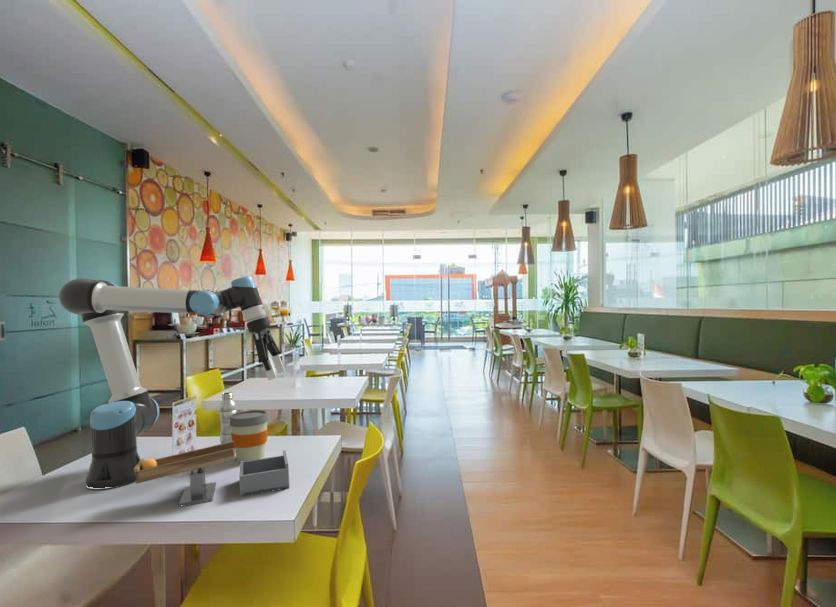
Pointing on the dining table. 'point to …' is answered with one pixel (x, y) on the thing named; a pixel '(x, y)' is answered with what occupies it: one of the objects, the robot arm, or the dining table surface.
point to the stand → (198, 489)
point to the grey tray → (264, 475)
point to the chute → (186, 462)
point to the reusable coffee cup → (249, 434)
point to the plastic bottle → (226, 416)
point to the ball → (149, 464)
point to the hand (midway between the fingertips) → (277, 375)
